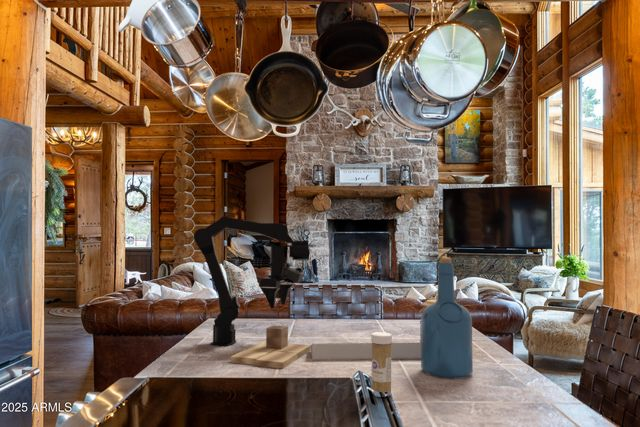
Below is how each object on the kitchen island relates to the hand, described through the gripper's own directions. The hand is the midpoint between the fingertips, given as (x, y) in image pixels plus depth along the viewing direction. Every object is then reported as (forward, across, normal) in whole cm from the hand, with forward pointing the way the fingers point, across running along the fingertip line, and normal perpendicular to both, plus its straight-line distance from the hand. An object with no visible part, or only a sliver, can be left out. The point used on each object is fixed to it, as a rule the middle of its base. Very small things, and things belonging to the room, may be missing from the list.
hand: (278, 306), depth 155 cm
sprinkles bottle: (+12, -41, -43) cm, 61 cm away
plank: (+12, -18, -2) cm, 22 cm away
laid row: (+12, -18, -10) cm, 24 cm away
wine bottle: (+12, -18, -56) cm, 60 cm away
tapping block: (+10, -13, -6) cm, 17 cm away
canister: (+12, +9, -53) cm, 55 cm away
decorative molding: (+13, -6, -32) cm, 35 cm away
